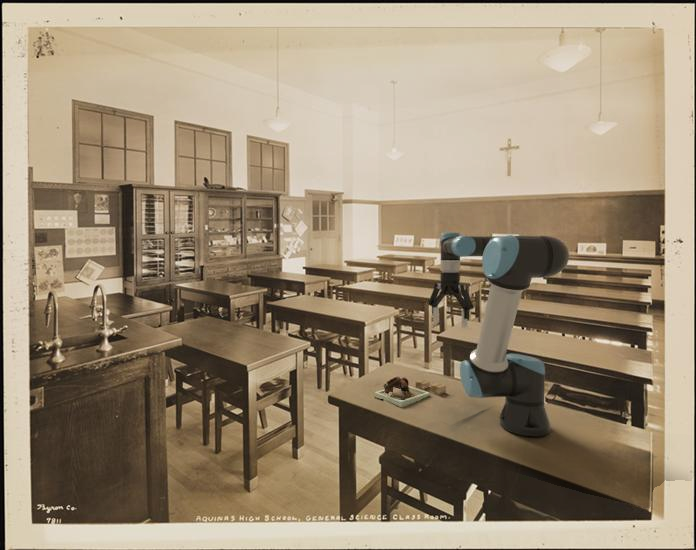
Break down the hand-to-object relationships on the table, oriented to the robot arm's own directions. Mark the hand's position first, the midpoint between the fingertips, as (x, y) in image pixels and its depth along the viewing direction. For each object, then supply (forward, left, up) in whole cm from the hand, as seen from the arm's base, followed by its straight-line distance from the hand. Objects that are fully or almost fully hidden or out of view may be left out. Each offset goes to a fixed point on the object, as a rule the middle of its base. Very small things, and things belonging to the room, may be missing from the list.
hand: (449, 325), depth 162 cm
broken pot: (+7, +19, -27) cm, 34 cm away
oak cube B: (+7, +8, -27) cm, 29 cm away
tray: (+7, +20, -27) cm, 34 cm away
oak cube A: (0, +7, -27) cm, 28 cm away
